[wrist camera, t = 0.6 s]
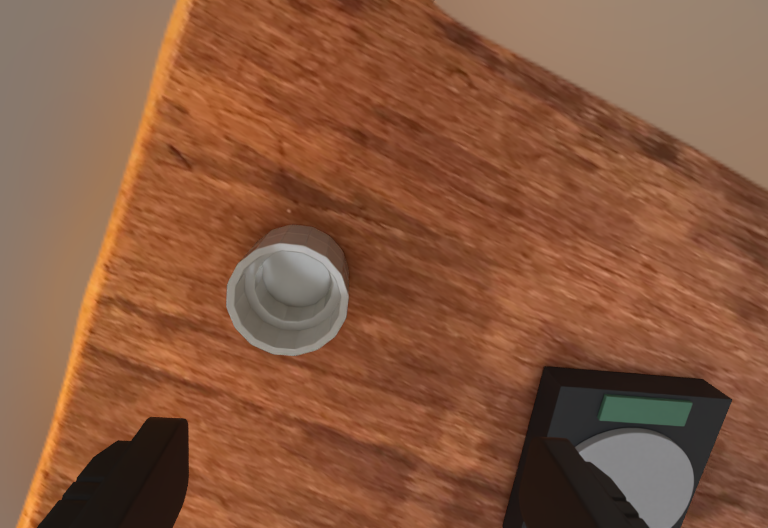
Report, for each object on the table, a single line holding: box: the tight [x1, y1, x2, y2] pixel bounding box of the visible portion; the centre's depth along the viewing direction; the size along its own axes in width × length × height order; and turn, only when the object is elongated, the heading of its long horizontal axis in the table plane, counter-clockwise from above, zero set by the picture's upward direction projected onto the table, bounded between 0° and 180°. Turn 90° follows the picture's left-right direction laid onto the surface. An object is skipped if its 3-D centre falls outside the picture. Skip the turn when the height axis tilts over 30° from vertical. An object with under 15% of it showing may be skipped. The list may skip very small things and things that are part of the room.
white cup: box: [226, 225, 349, 356], centre depth 24 cm, size 6×6×5 cm
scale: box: [503, 366, 732, 528], centre depth 31 cm, size 14×12×3 cm
